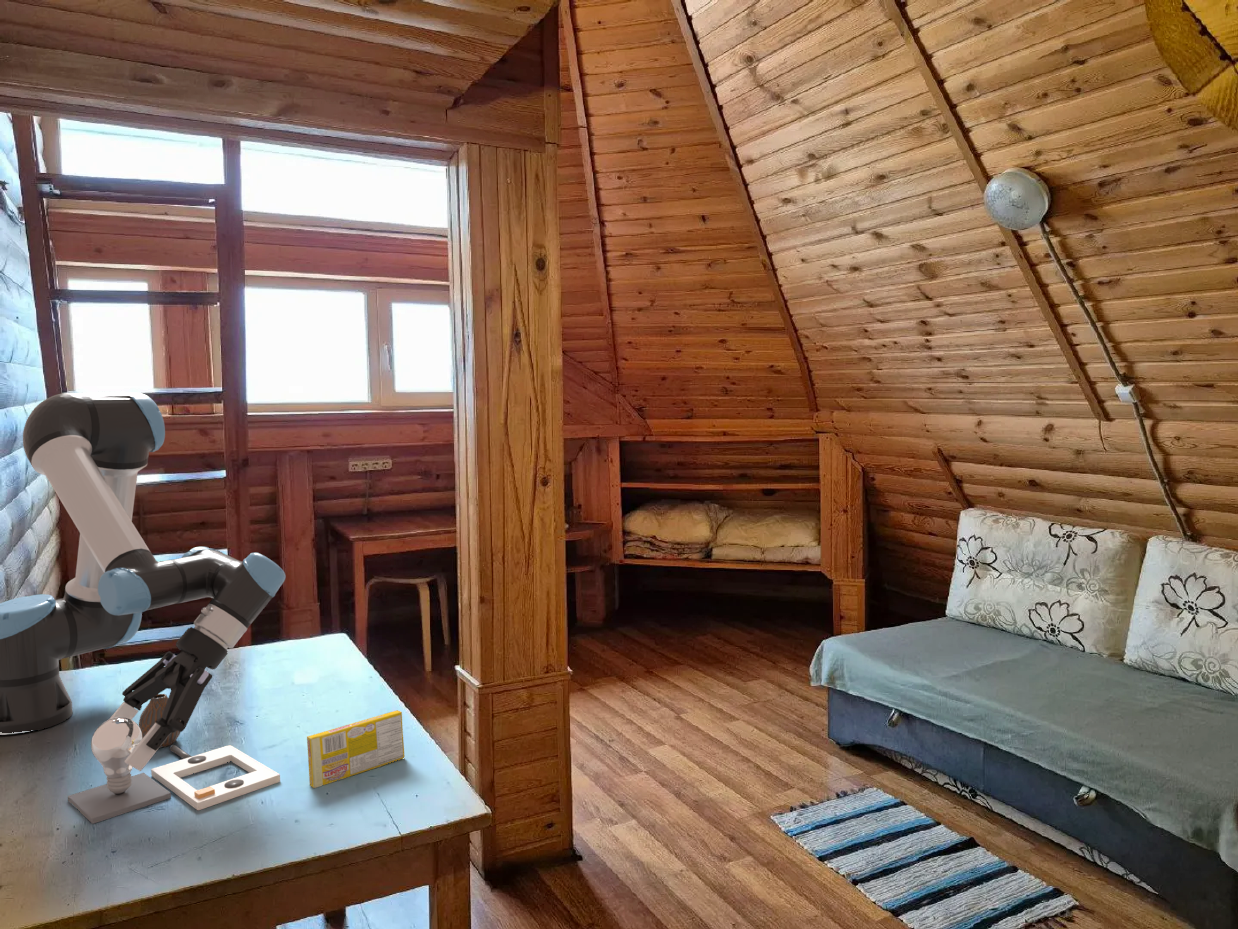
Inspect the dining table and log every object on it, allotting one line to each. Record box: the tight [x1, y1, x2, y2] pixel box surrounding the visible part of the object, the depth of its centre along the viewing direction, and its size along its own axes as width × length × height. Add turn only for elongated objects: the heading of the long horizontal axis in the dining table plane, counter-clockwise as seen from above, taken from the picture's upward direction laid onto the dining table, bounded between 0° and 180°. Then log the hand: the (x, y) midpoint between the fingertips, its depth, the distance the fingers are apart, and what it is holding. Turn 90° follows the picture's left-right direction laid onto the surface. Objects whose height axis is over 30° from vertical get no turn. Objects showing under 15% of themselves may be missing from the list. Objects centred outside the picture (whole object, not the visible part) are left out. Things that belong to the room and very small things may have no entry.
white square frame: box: [150, 744, 281, 811], centre depth 147 cm, size 26×13×2 cm, turn 48°
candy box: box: [306, 710, 406, 789], centre depth 147 cm, size 16×2×8 cm, turn 133°
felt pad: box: [67, 772, 172, 825], centre depth 138 cm, size 11×11×1 cm
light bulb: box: [90, 717, 143, 795], centre depth 137 cm, size 7×7×12 cm
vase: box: [138, 693, 181, 748], centre depth 159 cm, size 7×7×9 cm
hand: (116, 754), depth 137 cm, fingers open, 13 cm apart
